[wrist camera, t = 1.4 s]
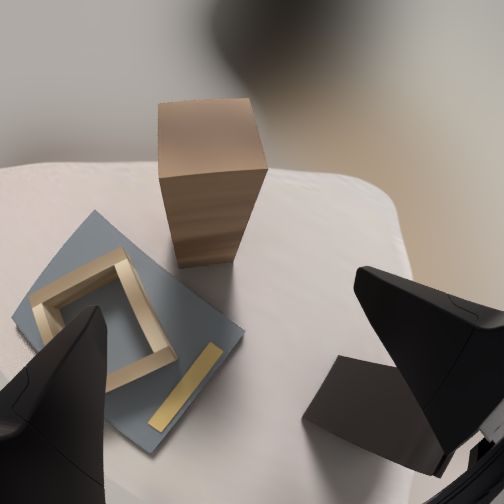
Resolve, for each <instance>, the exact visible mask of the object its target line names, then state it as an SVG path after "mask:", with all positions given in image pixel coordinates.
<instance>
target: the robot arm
mask: <svg viewBox="0 0 504 504" xmlns="http://www.w3.org/2000/svg"><path fill="white" fill-rule="evenodd" d="M354 292H355V295H356V297H357V299H358V300H359V302H360V304H361V306H362V308H363V310H364V312H365V314H366V316H367V318H368V320H369V322H370V324H371V326H372V327H373V329H374V331H375V332H376V334H377V335H378V337H379V339H380V340H381V342H382V343H383V345H384V347H385V348H386V350H387V352H388V353H389V355H390V356H391V358H392V360H393V361H394V363H395V365H396V366H397V368H398V370H399V371H400V373H401V375H402V377H403V378H404V380H405V382H406V383H407V385H408V387H409V389H410V390H411V392H412V394H413V396H414V397H415V399H416V401H417V403H418V404H419V406H420V408H421V410H422V411H423V414H424V416H425V417H426V419H427V421H428V423H429V425H430V427H431V429H432V431H433V432H434V434H435V436H436V438H437V440H438V442H439V444H440V446H441V448H442V450H443V452H444V454H445V455H446V456H449V455H450V454H451V453H453V452H454V451H455V450H457V449H458V448H459V447H460V446H461V445H463V444H464V443H465V442H467V441H468V440H469V439H470V438H471V437H473V436H474V435H475V434H476V433H477V432H478V431H479V430H480V431H481V433H482V434H483V435H484V438H483V439H482V440H481V441H480V442H479V443H478V444H477V445H476V446H474V447H473V448H472V449H471V450H470V456H469V463H468V469H467V471H466V472H465V473H463V474H462V475H461V476H460V477H458V478H457V479H456V480H455V481H453V482H452V483H451V484H450V485H448V486H447V487H446V488H444V489H443V490H442V491H441V492H439V493H437V494H436V495H435V496H433V497H432V498H430V499H429V500H428V501H426V502H425V503H423V504H504V311H500V310H497V309H493V308H490V307H486V306H483V305H480V304H477V303H474V302H471V301H467V300H464V299H461V298H459V297H456V296H453V295H450V294H446V293H445V292H442V291H439V290H436V289H433V288H431V287H428V286H424V285H422V284H419V283H416V282H414V281H411V280H408V279H405V278H402V277H399V276H396V275H394V274H391V273H388V272H385V271H382V270H379V269H376V268H373V267H370V266H364V267H359V268H358V269H357V272H356V277H355V282H354ZM107 335H108V330H107V325H106V322H105V319H104V316H103V314H102V311H101V308H100V307H99V306H98V305H90V306H86V307H85V308H84V309H83V310H82V311H81V312H80V313H79V314H78V315H77V316H76V317H75V318H73V319H72V320H71V321H70V322H69V323H68V324H67V325H66V326H65V327H64V328H63V329H62V330H61V331H60V332H59V333H58V334H57V335H56V336H55V337H54V338H53V339H51V340H50V341H49V342H48V343H47V344H46V345H45V346H44V347H43V348H42V349H41V350H40V351H39V352H38V353H37V354H36V355H35V356H34V357H33V358H32V360H31V361H30V362H29V363H28V364H27V365H26V367H24V368H23V369H22V370H21V371H20V372H19V373H18V374H17V375H16V376H15V377H14V378H13V379H12V380H11V381H10V382H9V383H8V384H7V385H6V386H5V387H4V388H3V389H2V390H1V391H0V504H106V503H105V489H104V470H103V430H104V407H105V392H106V380H107Z"/></svg>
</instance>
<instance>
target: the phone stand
mask: <svg viewBox="0 0 504 504" xmlns="http://www.w3.org/2000/svg"><path fill="white" fill-rule="evenodd" d="M302 417H303V418H305V419H307V420H309V421H310V422H312V423H314V424H316V425H318V426H320V427H321V428H323V429H325V430H327V431H329V432H331V433H333V434H335V435H337V436H339V437H341V438H343V439H345V440H347V441H349V442H351V443H353V444H355V445H357V446H359V447H361V448H363V449H366V450H368V451H370V452H372V453H374V454H377V455H379V456H381V457H384V458H386V459H388V460H390V461H393V462H395V463H397V464H400V465H402V466H404V467H407V468H409V469H412V470H414V471H417V472H420V473H423V474H426V475H429V476H432V475H433V476H436V477H437V478H441V477H442V475H443V473H444V472H445V470H446V468H447V466H448V464H449V462H450V461H451V459H452V457H453V455H454V453H455V451H456V450H455V451H454V452H453V453H451V454H450V455H449V456H446V455H445V454H444V452H443V450H442V448H441V446H440V444H439V442H438V440H437V438H436V436H435V434H434V432H433V431H432V429H431V427H430V425H429V423H428V421H427V419H426V417H425V416H424V414H423V411H422V410H421V408H420V406H419V404H418V403H417V401H416V399H415V397H414V396H413V394H412V392H411V390H410V389H409V387H408V385H407V383H406V382H405V380H404V378H403V377H402V375H401V373H400V371H399V370H398V368H397V367H392V366H387V365H382V364H377V363H372V362H367V361H362V360H358V359H353V358H349V357H344V356H340V355H338V357H337V359H336V361H335V363H334V364H333V366H332V368H331V370H330V372H329V373H328V375H327V377H326V379H325V380H324V382H323V384H322V385H321V387H320V389H319V390H318V392H317V394H316V395H315V397H314V399H313V400H312V402H311V404H310V405H309V407H308V408H307V410H306V412H305V413H304V415H303V416H302Z"/></svg>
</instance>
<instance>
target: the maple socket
mask: <svg viewBox="0 0 504 504" xmlns="http://www.w3.org/2000/svg"><path fill="white" fill-rule="evenodd" d="M119 278H120V281H121V283H122V285H123V288H124V290H125V293H126V295H127V297H128V299H129V302H130V304H131V306H132V308H133V311H134V313H135V315H136V317H137V319H138V321H139V324H140V326H141V328H142V330H143V332H144V334H145V336H146V338H147V340H148V342H149V344H150V346H151V348H152V350H153V352H154V353H153V354H151V355H149V356H147V357H145V358H143V359H140V360H138V361H136V362H134V363H132V364H130V365H128V366H126V367H124V368H121V369H119V370H117V371H115V372H113V373H111V374H108V375H107V380H106V392H109V391H111V390H113V389H115V388H118V387H120V386H122V385H124V384H127V383H129V382H131V381H133V380H135V379H137V378H140V377H142V376H144V375H146V374H148V373H150V372H152V371H154V370H157V369H159V368H161V367H163V366H165V365H167V364H169V363H171V362H173V361H175V360H177V359H179V358H178V356H177V354H176V352H175V350H174V348H173V346H172V345H171V343H170V341H169V339H168V337H167V335H166V333H165V331H164V329H163V327H162V325H161V323H160V321H159V319H158V317H157V315H156V313H155V311H154V309H153V307H152V305H151V303H150V300H149V298H148V296H147V294H146V292H145V290H144V287H143V285H142V283H141V281H140V278H139V276H138V274H137V272H136V269H135V267H134V264H133V262H132V260H131V258H130V257H129V255H128V254H127V253H126V251H125V250H124V248H123V247H122V246H121V247H119V248H117V249H115V250H113V251H111V252H109V253H107V254H105V255H103V256H101V257H99V258H97V259H95V260H93V261H91V262H89V263H87V264H85V265H83V266H81V267H80V268H78V269H76V270H74V271H72V272H70V273H68V274H66V275H65V276H63V277H61V278H59V279H57V280H55V281H54V282H52V283H50V284H48V285H46V286H45V287H43V288H41V289H39V290H38V291H36V292H34V293H32V294H31V295H29V300H30V303H31V307H32V310H33V313H34V317H35V320H36V323H37V326H38V329H39V332H40V335H41V338H42V340H43V343H44V346H45V345H46V344H47V343H48V342H49V341H50V340H51V339H53V338H54V337H55V336H56V335H57V334H58V333H59V332H60V331H61V330H62V329H63V328H64V327H65V324H64V321H63V318H62V316H61V313H60V310H59V309H61V308H63V307H65V306H67V305H68V304H70V303H72V302H74V301H76V300H78V299H80V298H82V297H84V296H86V295H88V294H90V293H92V292H94V291H96V290H97V289H99V288H101V287H103V286H105V285H107V284H109V283H111V282H113V281H115V280H117V279H119ZM106 392H105V393H106Z"/></svg>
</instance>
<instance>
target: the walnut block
mask: <svg viewBox="0 0 504 504" xmlns="http://www.w3.org/2000/svg"><path fill="white" fill-rule="evenodd" d="M267 171H268V166H267V162H266V159H265V155H264V151H263V148H262V144H261V140H260V136H259V132H258V129H257V125H256V122H255V118H254V114H253V111H252V107H251V104H250V100H249V98H232V99H207V100H192V101H181V102H169V103H160V104H158V172H159V182H160V187H161V192H162V197H163V202H164V206H165V211H166V215H167V220H168V224H169V228H170V233H171V237H172V241H173V245H174V249H175V253H176V257H177V261H178V265H179V268H186V267H194V266H201V265H209V264H217V263H225V262H232V261H234V258H235V256H236V253H237V250H238V247H239V245H240V242H241V239H242V237H243V234H244V231H245V229H246V226H247V223H248V221H249V218H250V215H251V213H252V210H253V207H254V205H255V202H256V199H257V197H258V194H259V192H260V189H261V186H262V184H263V181H264V178H265V176H266V173H267Z"/></svg>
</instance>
